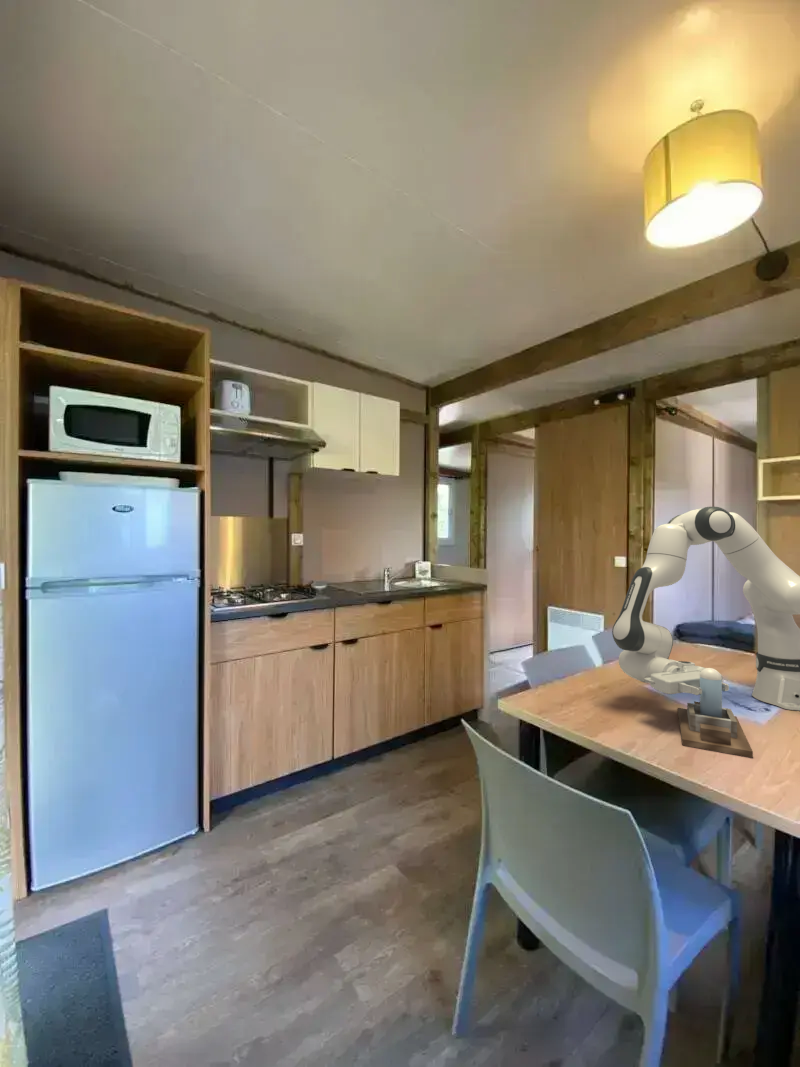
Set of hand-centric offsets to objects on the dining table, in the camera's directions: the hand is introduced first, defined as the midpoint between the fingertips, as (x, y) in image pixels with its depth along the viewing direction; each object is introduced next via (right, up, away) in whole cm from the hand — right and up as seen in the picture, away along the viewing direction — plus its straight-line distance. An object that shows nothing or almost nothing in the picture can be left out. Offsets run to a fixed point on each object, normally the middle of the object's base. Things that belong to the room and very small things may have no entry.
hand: (713, 690), depth 121 cm
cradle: (0, -12, +1) cm, 12 cm away
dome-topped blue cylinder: (0, -10, +1) cm, 10 cm away
